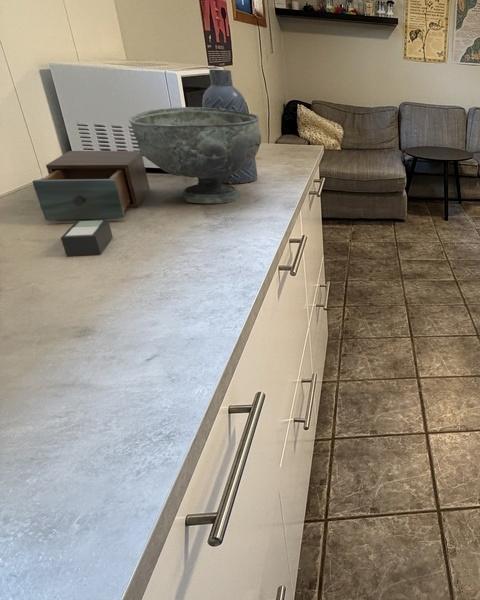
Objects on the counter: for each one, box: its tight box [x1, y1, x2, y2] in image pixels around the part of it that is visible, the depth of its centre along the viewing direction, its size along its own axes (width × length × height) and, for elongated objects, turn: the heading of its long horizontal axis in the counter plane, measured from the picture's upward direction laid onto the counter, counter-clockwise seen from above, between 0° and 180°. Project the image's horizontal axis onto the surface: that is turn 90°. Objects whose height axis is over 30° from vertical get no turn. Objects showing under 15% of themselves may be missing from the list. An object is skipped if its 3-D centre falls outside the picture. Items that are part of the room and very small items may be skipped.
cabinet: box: [45, 150, 151, 209], centre depth 109 cm, size 16×15×10 cm
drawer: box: [32, 168, 132, 221], centre depth 99 cm, size 16×13×8 cm
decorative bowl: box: [127, 106, 262, 204], centre depth 113 cm, size 26×26×20 cm
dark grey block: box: [60, 219, 114, 257], centre depth 85 cm, size 5×9×4 cm, turn 21°
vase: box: [201, 68, 258, 185], centre depth 128 cm, size 12×12×28 cm
